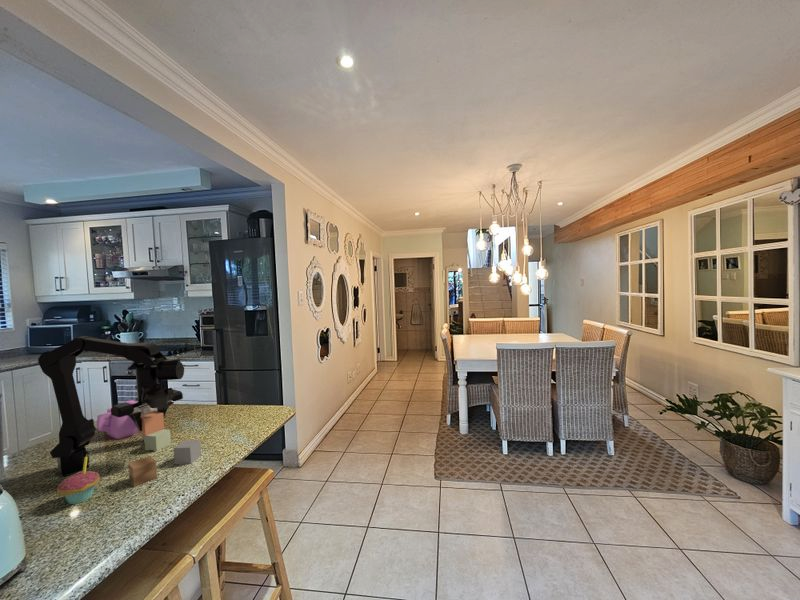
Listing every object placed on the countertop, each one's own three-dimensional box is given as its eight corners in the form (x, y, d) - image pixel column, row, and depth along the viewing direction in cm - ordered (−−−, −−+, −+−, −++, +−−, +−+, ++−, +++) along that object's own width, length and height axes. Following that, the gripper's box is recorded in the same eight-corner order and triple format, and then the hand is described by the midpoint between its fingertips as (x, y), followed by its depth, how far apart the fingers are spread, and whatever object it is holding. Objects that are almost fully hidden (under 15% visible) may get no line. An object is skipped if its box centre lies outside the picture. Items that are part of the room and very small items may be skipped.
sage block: (156, 451, 120) (155, 436, 120) (144, 450, 122) (143, 435, 121) (170, 444, 126) (169, 429, 125) (159, 443, 127) (158, 428, 127)
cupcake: (97, 486, 100) (94, 446, 99) (104, 496, 94) (100, 454, 94) (56, 501, 93) (52, 458, 92) (60, 513, 88) (56, 468, 87)
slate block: (191, 463, 111) (190, 447, 111) (174, 464, 111) (173, 448, 111) (201, 455, 116) (200, 439, 116) (185, 455, 116) (184, 440, 116)
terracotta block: (145, 435, 109) (144, 419, 109) (137, 432, 112) (136, 416, 112) (164, 429, 114) (163, 413, 114) (156, 426, 117) (155, 410, 116)
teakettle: (94, 442, 129) (91, 410, 129) (118, 425, 146) (116, 397, 145) (145, 436, 134) (143, 405, 133) (163, 419, 150) (162, 392, 150)
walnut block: (134, 487, 98) (133, 469, 98) (129, 480, 102) (128, 463, 102) (156, 478, 103) (155, 461, 102) (151, 472, 106) (150, 455, 106)
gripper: (124, 393, 100) (128, 444, 101) (190, 376, 116) (193, 421, 117) (108, 388, 106) (112, 437, 106) (173, 373, 122) (175, 416, 122)
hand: (150, 427), depth 113 cm, fingers closed on terracotta block, 5 cm apart
